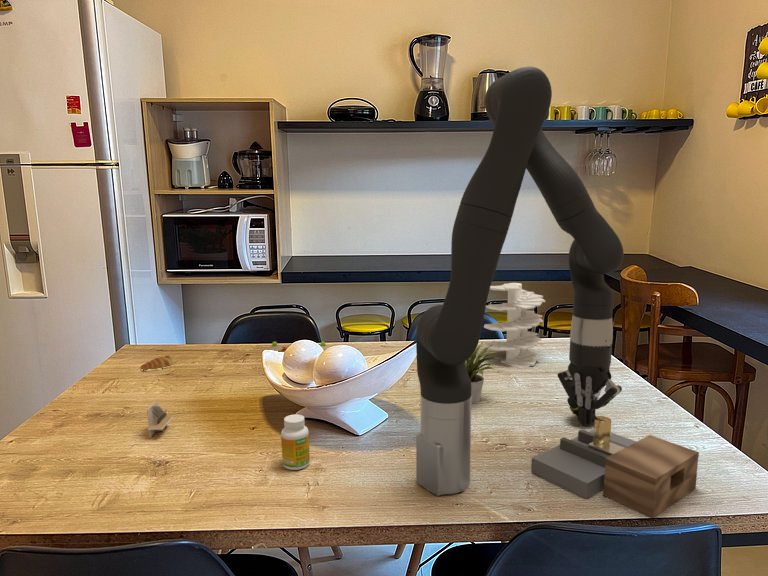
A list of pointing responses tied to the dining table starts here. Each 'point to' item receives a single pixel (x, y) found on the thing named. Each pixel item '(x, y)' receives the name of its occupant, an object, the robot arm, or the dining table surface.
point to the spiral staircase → (517, 325)
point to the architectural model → (157, 418)
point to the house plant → (473, 370)
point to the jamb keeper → (650, 475)
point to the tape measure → (573, 407)
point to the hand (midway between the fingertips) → (586, 424)
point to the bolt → (603, 436)
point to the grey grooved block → (576, 464)
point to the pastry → (158, 363)
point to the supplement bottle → (295, 443)
